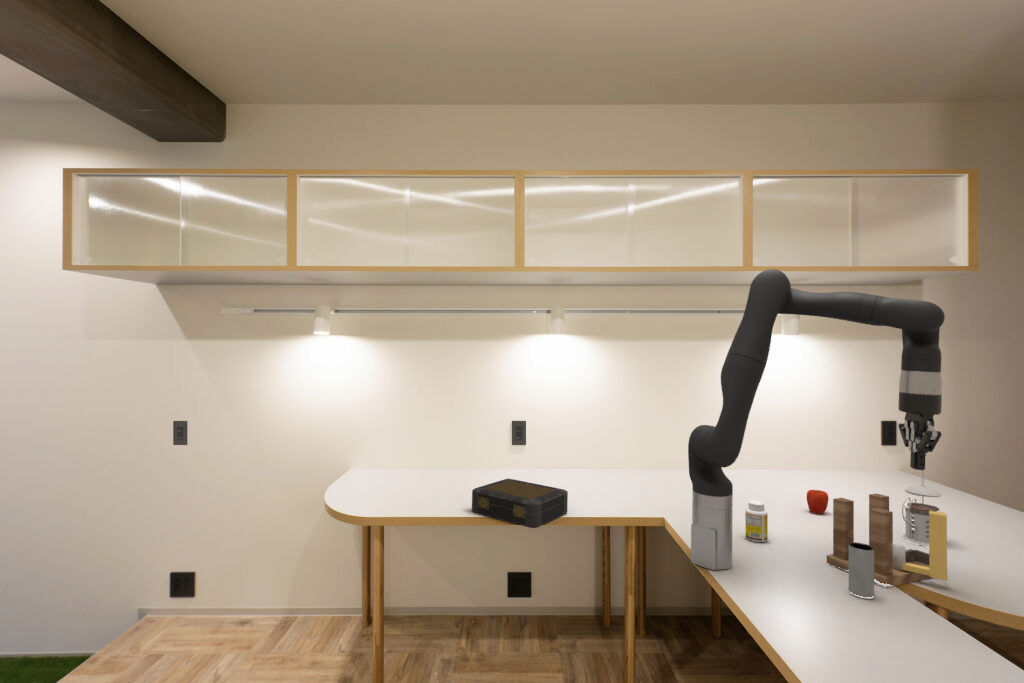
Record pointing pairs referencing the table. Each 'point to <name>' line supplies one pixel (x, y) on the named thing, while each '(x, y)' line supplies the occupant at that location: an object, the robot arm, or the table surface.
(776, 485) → the table surface
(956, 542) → the table surface
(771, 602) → the table surface
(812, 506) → the apple
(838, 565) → the wooden pillar stand
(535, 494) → the black carrying case
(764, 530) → the supplement bottle
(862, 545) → the grey tube
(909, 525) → the french press
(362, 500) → the table surface
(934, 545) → the hinged leg
